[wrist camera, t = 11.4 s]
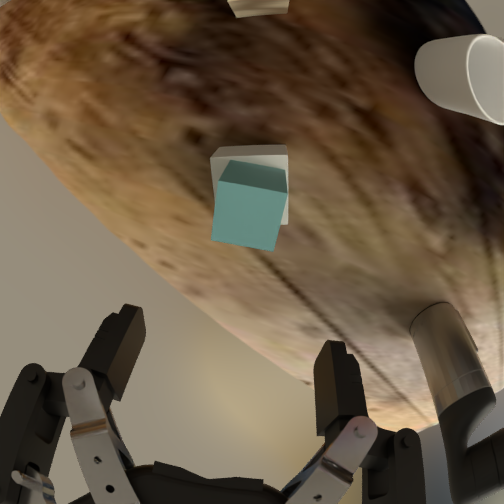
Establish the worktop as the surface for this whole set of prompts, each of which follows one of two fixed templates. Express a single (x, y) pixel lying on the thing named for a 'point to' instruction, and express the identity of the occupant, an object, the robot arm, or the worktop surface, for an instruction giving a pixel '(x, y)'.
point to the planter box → (3, 2)
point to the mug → (464, 75)
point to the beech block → (258, 7)
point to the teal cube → (249, 205)
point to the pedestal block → (251, 154)
